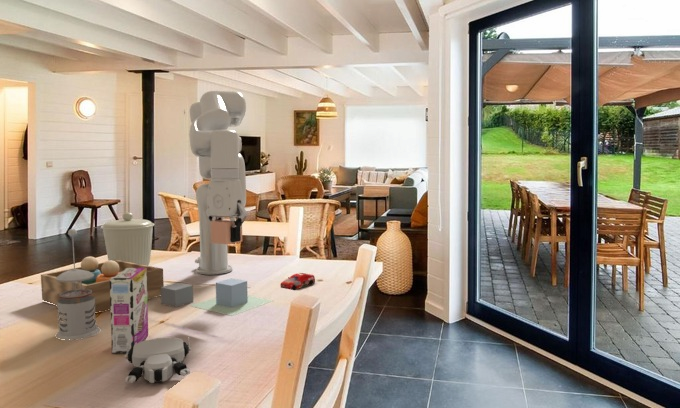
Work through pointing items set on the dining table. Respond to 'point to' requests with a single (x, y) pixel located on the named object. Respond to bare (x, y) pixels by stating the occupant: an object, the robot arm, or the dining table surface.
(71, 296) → the french press
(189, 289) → the gray cube
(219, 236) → the brick
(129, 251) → the canister
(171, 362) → the robot toy
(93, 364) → the dining table surface
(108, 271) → the wooden peg doll toy
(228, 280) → the base brick
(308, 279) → the race car
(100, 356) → the dining table surface
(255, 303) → the board
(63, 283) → the wooden tray
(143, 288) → the candy bar box
